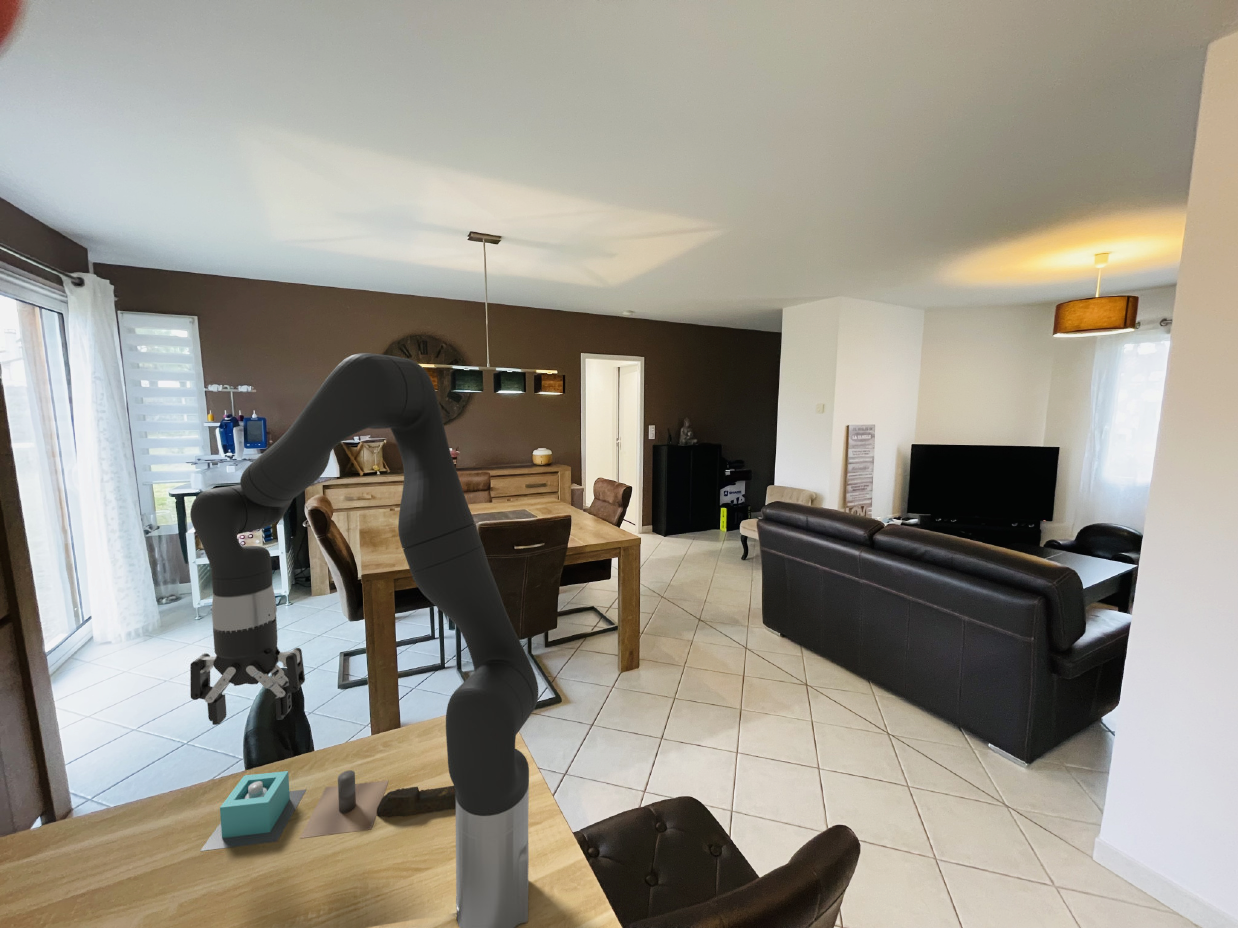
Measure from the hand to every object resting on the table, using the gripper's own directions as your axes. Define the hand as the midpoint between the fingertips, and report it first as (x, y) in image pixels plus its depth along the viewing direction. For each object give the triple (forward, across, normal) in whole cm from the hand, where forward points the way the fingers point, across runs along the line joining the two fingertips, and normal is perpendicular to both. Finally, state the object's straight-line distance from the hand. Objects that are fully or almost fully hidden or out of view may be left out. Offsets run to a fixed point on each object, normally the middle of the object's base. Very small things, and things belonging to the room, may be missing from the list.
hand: (251, 718), depth 74 cm
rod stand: (+18, +13, 0) cm, 22 cm away
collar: (+17, 0, 0) cm, 17 cm away
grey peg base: (+18, 0, 0) cm, 18 cm away
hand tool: (+18, +28, -2) cm, 33 cm away
